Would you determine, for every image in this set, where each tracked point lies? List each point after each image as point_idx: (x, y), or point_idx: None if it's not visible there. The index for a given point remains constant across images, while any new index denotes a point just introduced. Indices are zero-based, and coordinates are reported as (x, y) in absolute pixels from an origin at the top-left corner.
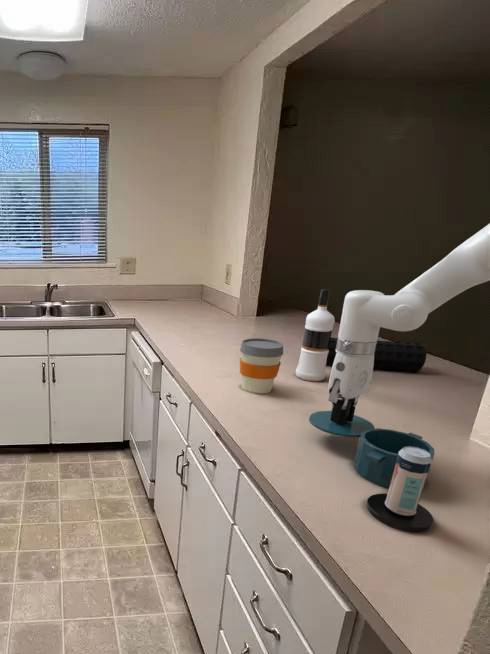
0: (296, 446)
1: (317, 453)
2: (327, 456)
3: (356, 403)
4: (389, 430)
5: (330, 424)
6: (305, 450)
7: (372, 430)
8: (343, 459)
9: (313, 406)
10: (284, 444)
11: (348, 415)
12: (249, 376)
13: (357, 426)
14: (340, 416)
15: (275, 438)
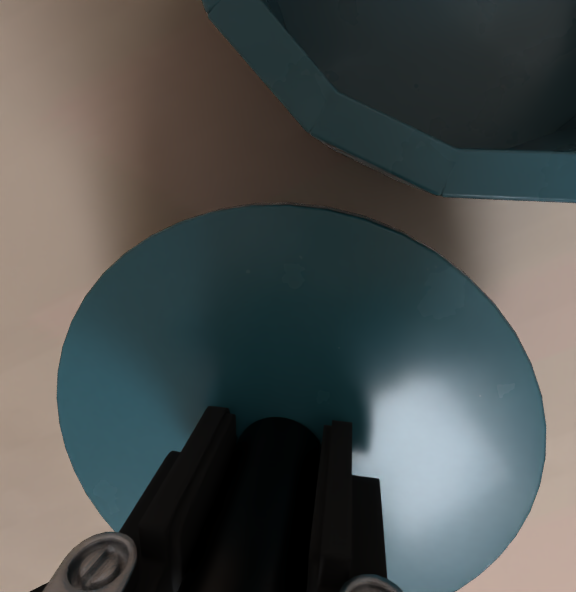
0: (543, 477)
1: (538, 372)
2: (531, 320)
3: (80, 551)
4: (248, 8)
5: (397, 487)
6: (555, 428)
7: (437, 141)
8: (493, 243)
9: (20, 585)
10: (572, 525)
11: (219, 468)
12: None
13: (252, 339)
14: (371, 511)
15: (534, 577)
